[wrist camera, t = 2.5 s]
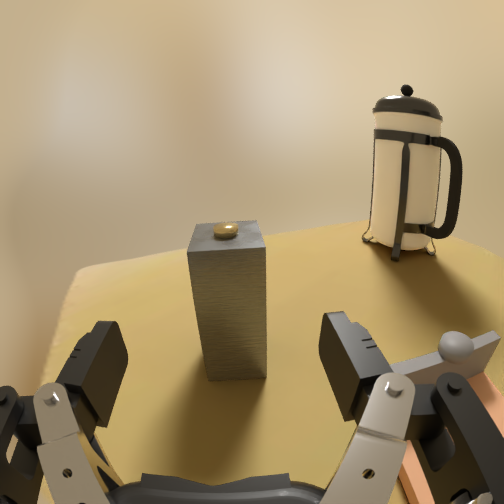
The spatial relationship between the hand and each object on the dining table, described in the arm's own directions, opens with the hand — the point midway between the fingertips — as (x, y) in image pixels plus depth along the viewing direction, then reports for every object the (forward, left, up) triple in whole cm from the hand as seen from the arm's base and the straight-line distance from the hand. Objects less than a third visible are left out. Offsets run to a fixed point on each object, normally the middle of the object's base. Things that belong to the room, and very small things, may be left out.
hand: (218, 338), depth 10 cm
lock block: (+4, -11, -12) cm, 16 cm away
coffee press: (-18, -42, -12) cm, 47 cm away
